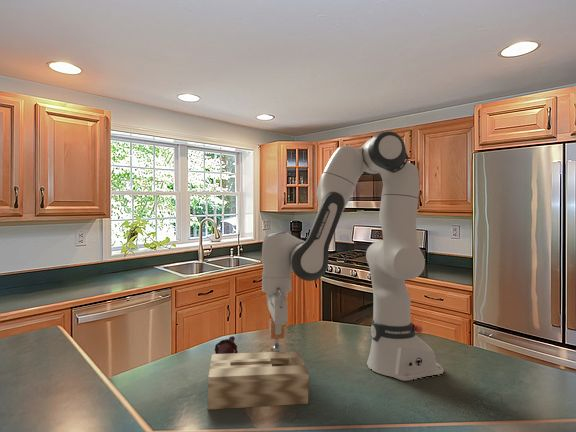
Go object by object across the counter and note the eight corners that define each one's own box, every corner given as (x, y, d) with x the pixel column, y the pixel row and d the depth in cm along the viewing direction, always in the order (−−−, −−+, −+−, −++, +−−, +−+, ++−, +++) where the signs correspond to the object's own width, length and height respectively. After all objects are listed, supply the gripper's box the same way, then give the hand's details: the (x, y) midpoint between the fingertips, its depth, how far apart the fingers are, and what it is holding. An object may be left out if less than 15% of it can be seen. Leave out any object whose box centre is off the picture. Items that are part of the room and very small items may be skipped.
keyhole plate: (297, 377, 98) (298, 351, 98) (308, 403, 84) (308, 372, 84) (211, 381, 94) (212, 354, 94) (207, 409, 80) (208, 377, 80)
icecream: (236, 349, 101) (244, 337, 116) (212, 342, 102) (224, 330, 117) (229, 373, 100) (238, 357, 115) (205, 365, 101) (218, 351, 116)
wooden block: (282, 346, 106) (282, 317, 106) (284, 351, 102) (284, 321, 102) (269, 347, 106) (269, 318, 106) (270, 352, 102) (270, 322, 102)
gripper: (292, 291, 95) (293, 342, 94) (282, 279, 115) (282, 320, 115) (269, 292, 94) (270, 343, 93) (263, 279, 114) (263, 321, 114)
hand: (276, 330), depth 104 cm, fingers closed on wooden block, 4 cm apart
